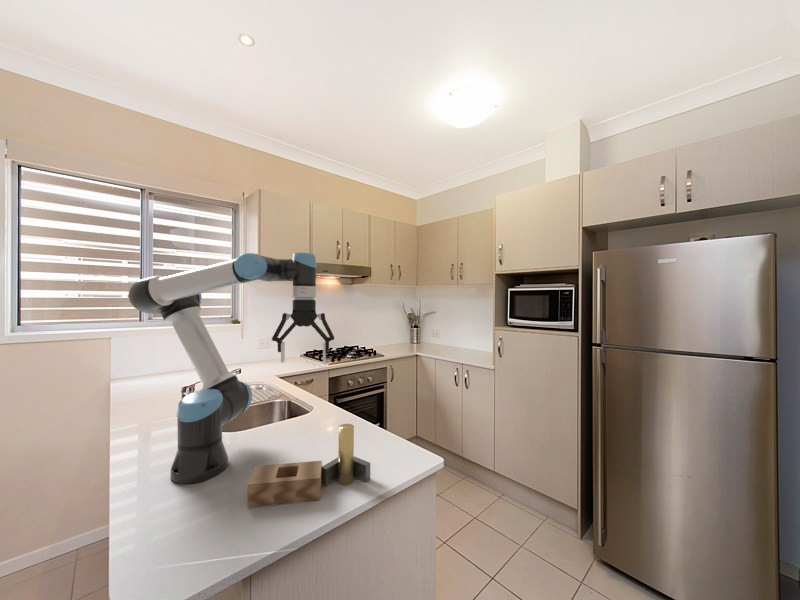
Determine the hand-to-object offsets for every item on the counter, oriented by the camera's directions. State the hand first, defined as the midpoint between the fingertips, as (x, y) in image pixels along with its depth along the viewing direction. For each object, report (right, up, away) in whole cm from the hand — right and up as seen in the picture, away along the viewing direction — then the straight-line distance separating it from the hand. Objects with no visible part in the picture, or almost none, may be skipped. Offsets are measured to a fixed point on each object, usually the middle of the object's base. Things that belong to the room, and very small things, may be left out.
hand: (303, 361), depth 109 cm
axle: (+17, -32, -15) cm, 39 cm away
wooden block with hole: (+2, -32, -21) cm, 39 cm away
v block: (+17, -32, -13) cm, 39 cm away
